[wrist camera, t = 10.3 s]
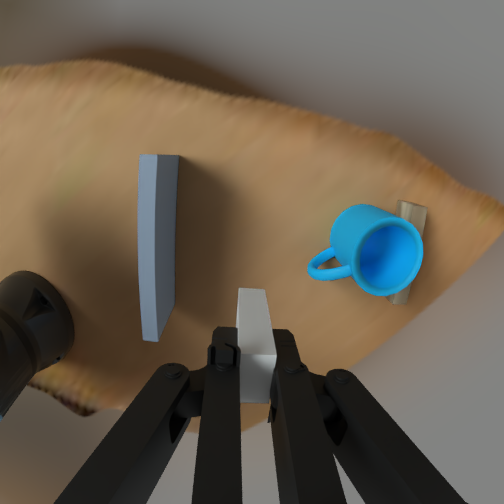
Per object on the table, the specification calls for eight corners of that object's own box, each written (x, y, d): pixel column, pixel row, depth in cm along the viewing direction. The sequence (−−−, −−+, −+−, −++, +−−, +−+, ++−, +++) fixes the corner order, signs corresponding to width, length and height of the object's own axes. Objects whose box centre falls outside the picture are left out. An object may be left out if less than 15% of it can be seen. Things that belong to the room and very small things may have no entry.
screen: (147, 300, 38) (125, 337, 30) (148, 154, 33) (118, 154, 24) (175, 303, 38) (157, 342, 30) (179, 155, 33) (157, 154, 25)
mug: (381, 194, 35) (414, 205, 27) (397, 254, 37) (428, 277, 29) (290, 230, 36) (302, 250, 28) (312, 290, 38) (327, 322, 30)
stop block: (380, 291, 39) (392, 304, 35) (397, 200, 35) (413, 205, 31) (393, 291, 39) (406, 304, 35) (411, 202, 35) (427, 207, 31)
